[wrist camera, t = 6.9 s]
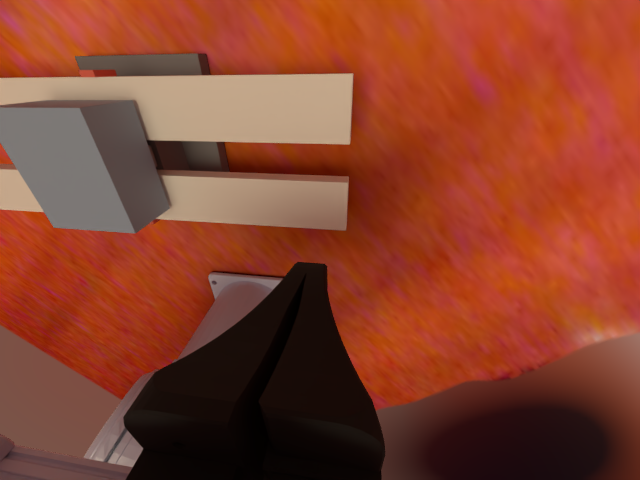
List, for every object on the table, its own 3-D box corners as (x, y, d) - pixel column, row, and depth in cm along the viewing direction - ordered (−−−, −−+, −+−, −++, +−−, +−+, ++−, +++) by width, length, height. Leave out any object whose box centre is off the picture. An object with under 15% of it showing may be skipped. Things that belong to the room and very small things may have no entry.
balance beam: (357, 50, 15) (353, 45, 11) (349, 211, 20) (345, 246, 17) (-28, 59, 18) (-135, 58, 14) (52, 196, 24) (-9, 221, 20)
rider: (143, 98, 14) (79, 107, 11) (177, 202, 17) (135, 233, 14) (60, 98, 15) (-22, 107, 12) (108, 199, 18) (54, 227, 15)
